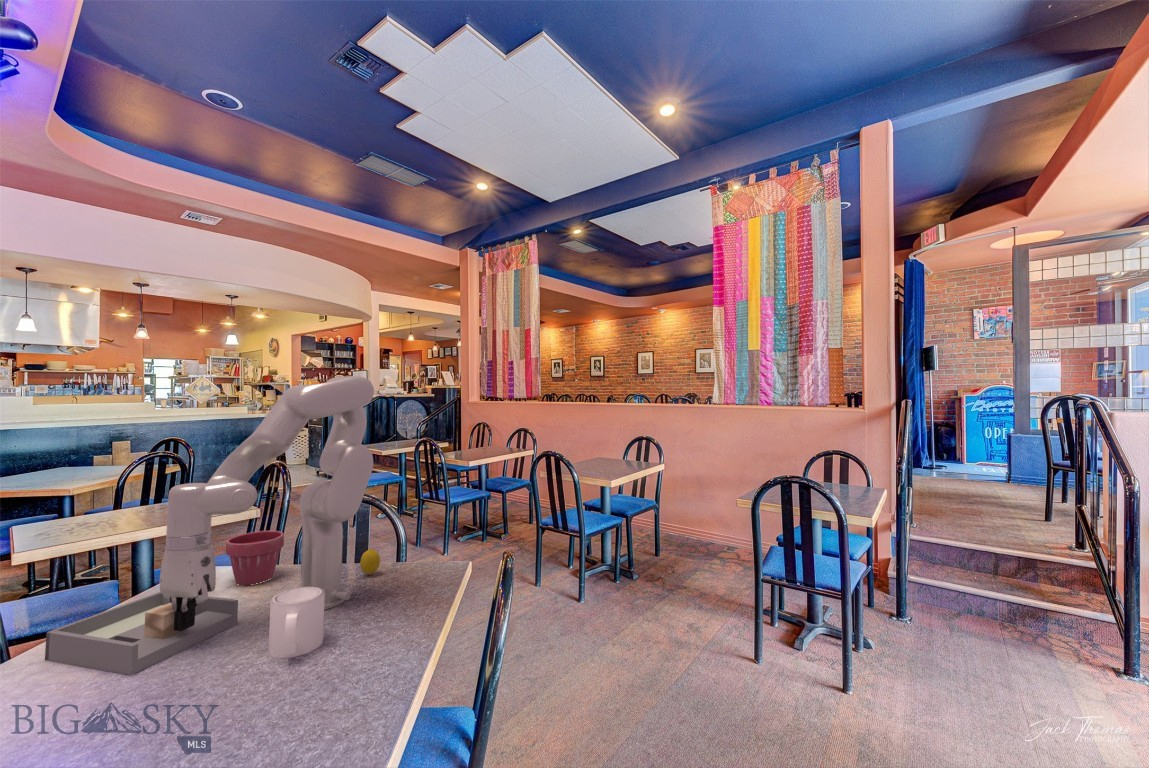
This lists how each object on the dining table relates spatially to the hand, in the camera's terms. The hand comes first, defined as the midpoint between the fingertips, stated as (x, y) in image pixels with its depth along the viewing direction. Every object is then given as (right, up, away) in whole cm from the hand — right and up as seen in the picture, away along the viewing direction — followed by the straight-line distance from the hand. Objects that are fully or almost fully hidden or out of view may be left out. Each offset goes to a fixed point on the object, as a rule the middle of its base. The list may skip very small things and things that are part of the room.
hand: (184, 627), depth 101 cm
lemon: (+21, -6, +42) cm, 48 cm away
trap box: (-9, -4, +2) cm, 10 cm away
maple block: (-5, -1, +1) cm, 5 cm away
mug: (+24, -4, 0) cm, 24 cm away
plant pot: (-10, -6, +37) cm, 39 cm away
